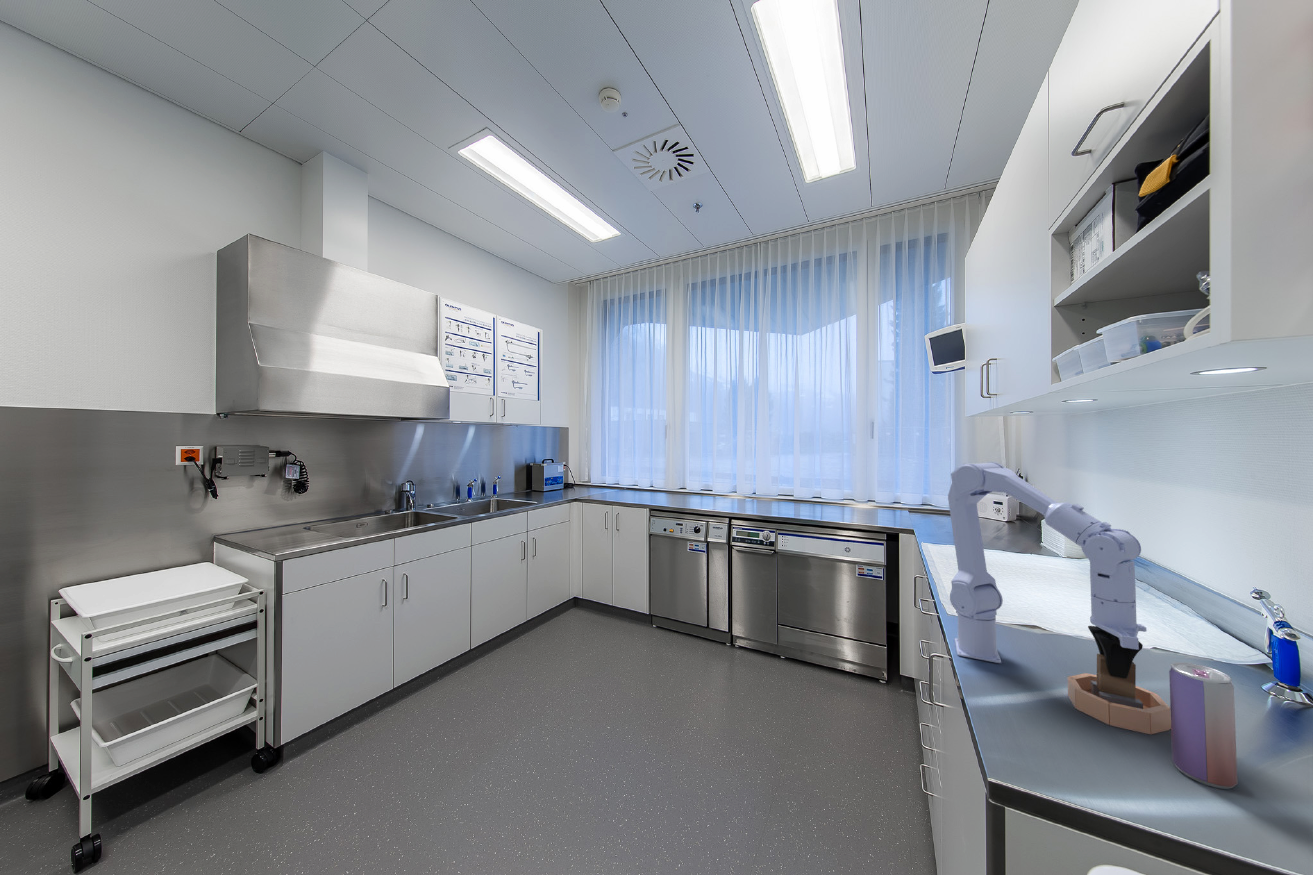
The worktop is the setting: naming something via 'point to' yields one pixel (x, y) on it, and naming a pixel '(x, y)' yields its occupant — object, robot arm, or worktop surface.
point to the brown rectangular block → (1115, 680)
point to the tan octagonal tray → (1120, 706)
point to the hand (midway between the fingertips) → (1115, 673)
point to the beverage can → (1203, 724)
